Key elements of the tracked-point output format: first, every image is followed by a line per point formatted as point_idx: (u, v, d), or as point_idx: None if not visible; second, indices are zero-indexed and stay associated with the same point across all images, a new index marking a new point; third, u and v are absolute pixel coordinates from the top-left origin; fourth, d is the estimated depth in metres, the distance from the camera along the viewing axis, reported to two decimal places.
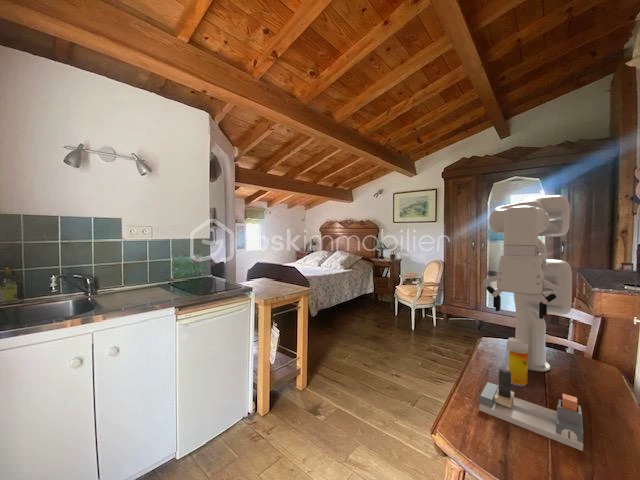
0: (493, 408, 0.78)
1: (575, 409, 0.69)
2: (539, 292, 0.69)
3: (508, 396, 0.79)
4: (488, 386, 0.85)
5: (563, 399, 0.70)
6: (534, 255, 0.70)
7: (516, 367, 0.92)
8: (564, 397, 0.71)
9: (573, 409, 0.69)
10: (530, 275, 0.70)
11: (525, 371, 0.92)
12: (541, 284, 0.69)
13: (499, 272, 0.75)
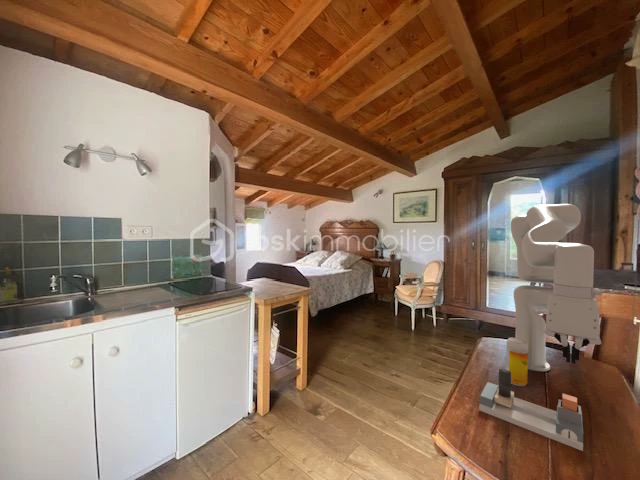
0: (493, 408, 0.78)
1: (575, 409, 0.69)
2: (596, 337, 0.66)
3: (508, 396, 0.79)
4: (488, 386, 0.85)
5: (563, 399, 0.70)
6: (590, 297, 0.66)
7: (516, 367, 0.92)
8: (564, 397, 0.71)
9: (573, 409, 0.69)
10: (586, 318, 0.66)
11: (525, 371, 0.92)
12: (598, 328, 0.65)
13: (549, 312, 0.71)
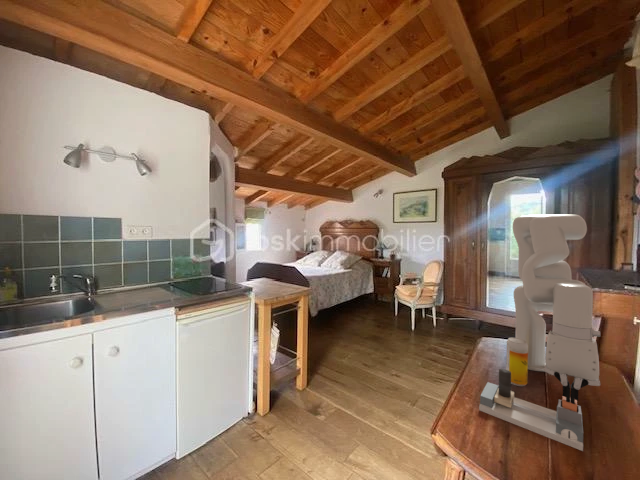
0: (493, 408, 0.78)
1: (575, 411, 0.69)
2: (595, 378, 0.66)
3: (508, 396, 0.79)
4: (488, 386, 0.85)
5: (563, 401, 0.70)
6: (589, 338, 0.66)
7: (516, 367, 0.92)
8: (564, 399, 0.71)
9: None
10: (585, 359, 0.67)
11: (525, 371, 0.92)
12: (597, 370, 0.66)
13: (549, 351, 0.71)
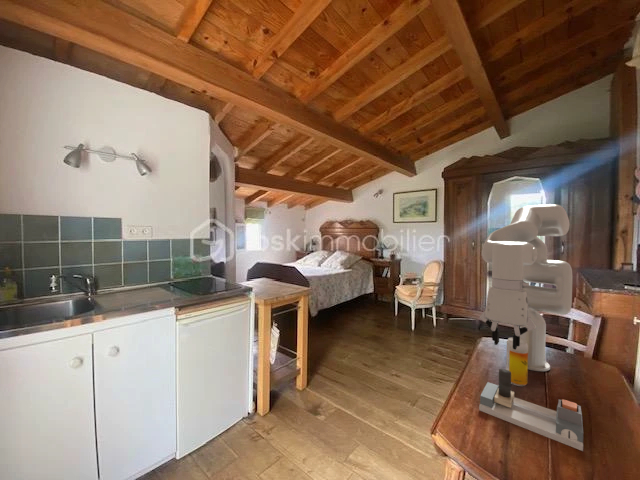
0: (493, 408, 0.78)
1: None
2: (524, 323, 0.75)
3: (508, 396, 0.79)
4: (488, 386, 0.85)
5: (563, 405, 0.70)
6: (519, 289, 0.76)
7: (516, 367, 0.92)
8: (564, 403, 0.71)
9: None
10: (515, 307, 0.76)
11: (525, 371, 0.92)
12: (525, 316, 0.75)
13: (488, 303, 0.81)
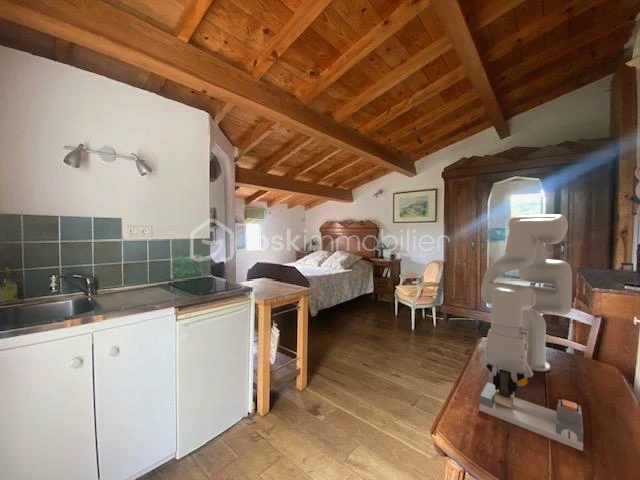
0: (493, 408, 0.78)
1: None
2: (522, 371, 0.76)
3: (508, 396, 0.79)
4: (488, 386, 0.85)
5: (563, 405, 0.70)
6: (518, 336, 0.76)
7: None
8: (564, 403, 0.71)
9: None
10: (514, 354, 0.76)
11: None
12: (524, 364, 0.75)
13: (487, 347, 0.81)
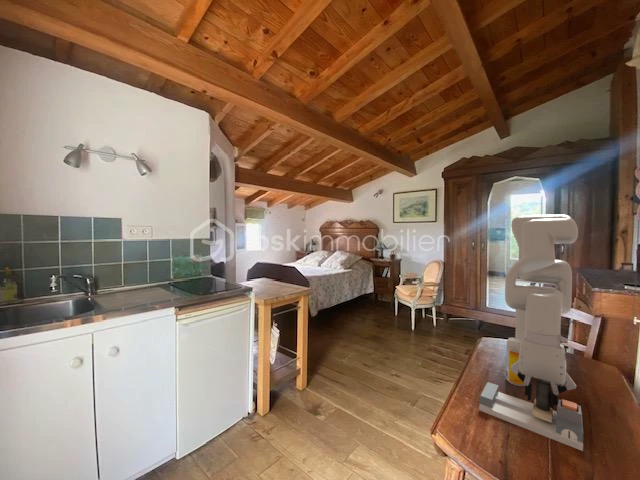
0: (493, 408, 0.78)
1: None
2: (562, 382, 0.70)
3: (547, 410, 0.73)
4: (488, 386, 0.85)
5: (563, 405, 0.70)
6: (557, 345, 0.71)
7: None
8: (564, 403, 0.71)
9: None
10: (553, 364, 0.71)
11: None
12: (564, 375, 0.70)
13: (521, 356, 0.76)
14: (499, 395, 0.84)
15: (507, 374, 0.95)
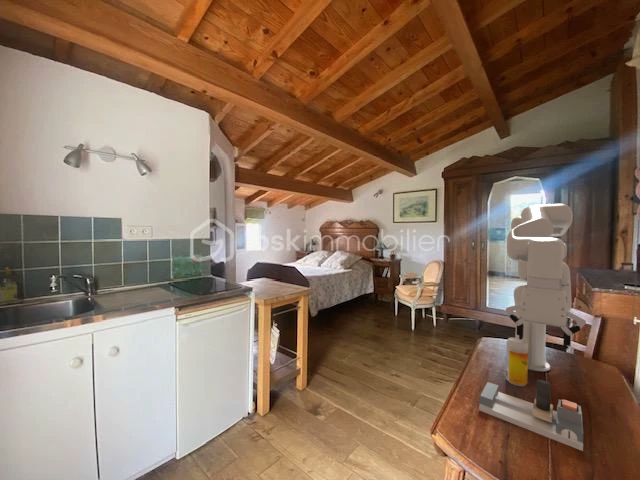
0: (493, 408, 0.78)
1: None
2: (564, 324, 0.71)
3: (547, 410, 0.73)
4: (488, 386, 0.85)
5: (563, 405, 0.70)
6: (559, 288, 0.72)
7: (515, 367, 0.92)
8: (564, 403, 0.71)
9: None
10: (555, 307, 0.72)
11: (525, 371, 0.92)
12: (566, 316, 0.71)
13: (523, 302, 0.77)
14: (499, 395, 0.84)
15: (507, 374, 0.95)
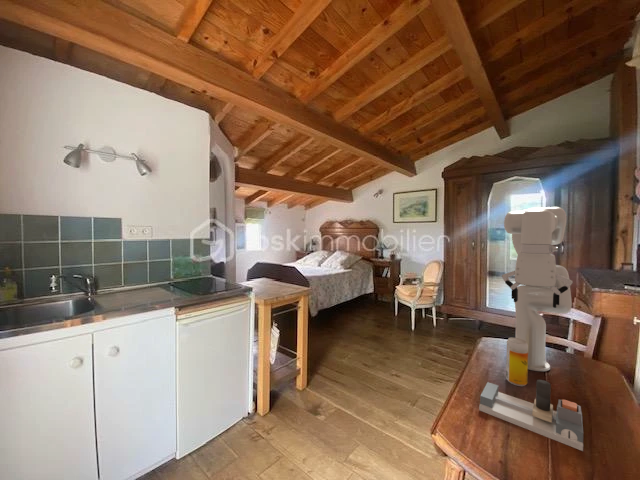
0: (493, 408, 0.78)
1: None
2: (553, 285, 0.80)
3: (547, 410, 0.73)
4: (488, 386, 0.85)
5: (563, 405, 0.70)
6: (548, 253, 0.81)
7: (516, 367, 0.92)
8: (564, 403, 0.71)
9: None
10: (545, 270, 0.81)
11: (525, 371, 0.92)
12: (555, 278, 0.80)
13: (517, 268, 0.86)
14: (499, 395, 0.84)
15: (507, 374, 0.95)
